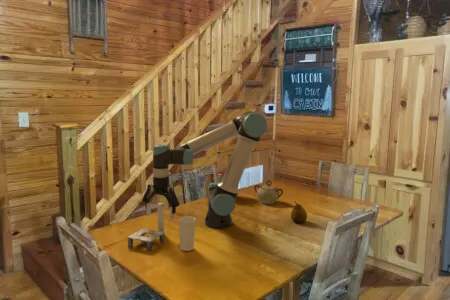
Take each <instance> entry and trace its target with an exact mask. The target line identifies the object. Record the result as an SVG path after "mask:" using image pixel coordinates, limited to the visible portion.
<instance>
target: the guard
mask: <svg viewBox="0 0 450 300" xmlns="http://www.w3.org/2000/svg"><path fill="white" fill-rule="evenodd" d="M147 234H148V235H149V237H143V236H144V235H147ZM158 238H159V243H164V242H165V231H164V232H160V231H158V230H154V229H148V228H141V229H139V230H138V231H136V232H134V233H132V234H131V235H129V236H127V247H129V248H131V247H133V246H134V240H135V241H140V242H141V244H140V245H141V246H143V247H146V251H148V252H151V251H152V250H153V241H154V240H155V241H156V239H158Z"/></svg>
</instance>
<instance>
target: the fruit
mask: <svg viewBox="0 0 450 300" xmlns="http://www.w3.org/2000/svg"><path fill="white" fill-rule="evenodd" d="M294 203H295V205H294V207H292V209H291V212H290V219H291V220H292V221H293V222H294V223H295V224H303V223H305V222H306V221H307V218H308V213H307V211H306V210H305V208H304V207H303V206H302V205H301V204H300V203H297V202H296V201H294Z"/></svg>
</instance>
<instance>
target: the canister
mask: <svg viewBox="0 0 450 300" xmlns="http://www.w3.org/2000/svg"><path fill="white" fill-rule="evenodd" d="M226 169H227V167H225V168H224V169H223V170H218V171H217V172H214V175H213V176H214V177H215V182H221V181H222V179H223V176H224V174H225V171H226ZM238 189H239V186H238V187H237V190H238ZM238 191H239V190H238Z"/></svg>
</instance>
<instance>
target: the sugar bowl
mask: <svg viewBox="0 0 450 300" xmlns="http://www.w3.org/2000/svg"><path fill="white" fill-rule="evenodd" d="M253 188H254V191H255V193H256V195H257V198H258V199H259V201H260V203H261V204H263V205H273V204H274V203H275V202H277V200H279V199H280V197H281V196H282V195H283V194H284V191H283V189H282V188H277V186H274V185H273V182H272V181H271V180H267V181H266V183H265V184H264V185H258V184H256V185H255V186H254V187H253Z"/></svg>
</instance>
